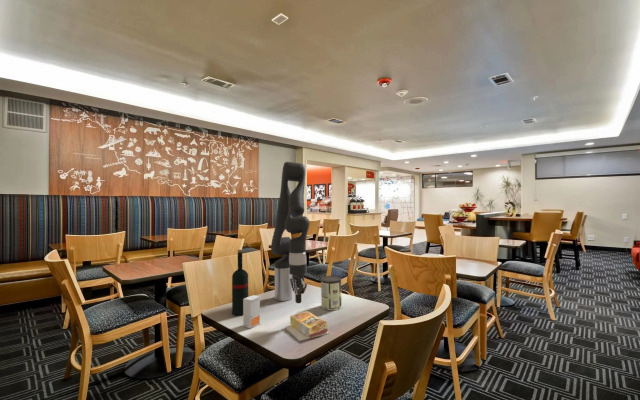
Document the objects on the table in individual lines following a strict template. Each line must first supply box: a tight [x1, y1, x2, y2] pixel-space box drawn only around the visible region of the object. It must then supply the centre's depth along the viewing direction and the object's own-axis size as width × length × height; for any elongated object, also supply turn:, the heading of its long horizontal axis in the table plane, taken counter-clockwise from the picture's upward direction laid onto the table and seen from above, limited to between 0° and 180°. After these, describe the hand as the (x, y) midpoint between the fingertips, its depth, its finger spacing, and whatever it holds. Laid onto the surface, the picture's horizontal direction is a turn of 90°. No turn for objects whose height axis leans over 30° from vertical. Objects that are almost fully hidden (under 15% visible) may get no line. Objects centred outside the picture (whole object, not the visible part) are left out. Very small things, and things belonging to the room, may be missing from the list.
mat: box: [284, 325, 330, 342], centre depth 124 cm, size 14×13×1 cm
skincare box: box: [242, 295, 261, 329], centre depth 130 cm, size 6×4×12 cm
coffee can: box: [320, 275, 343, 311], centre depth 152 cm, size 10×10×14 cm
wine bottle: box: [231, 249, 249, 317], centre depth 146 cm, size 8×10×30 cm
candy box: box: [289, 310, 328, 339], centre depth 125 cm, size 9×4×15 cm
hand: (298, 302), depth 131 cm, fingers closed
